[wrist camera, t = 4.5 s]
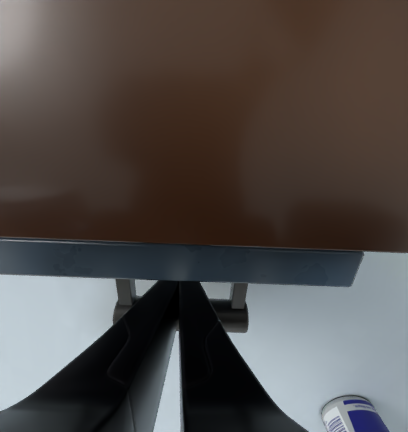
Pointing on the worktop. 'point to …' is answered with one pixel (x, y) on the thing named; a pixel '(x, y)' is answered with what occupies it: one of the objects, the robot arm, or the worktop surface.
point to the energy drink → (352, 416)
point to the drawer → (180, 268)
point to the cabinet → (206, 122)
